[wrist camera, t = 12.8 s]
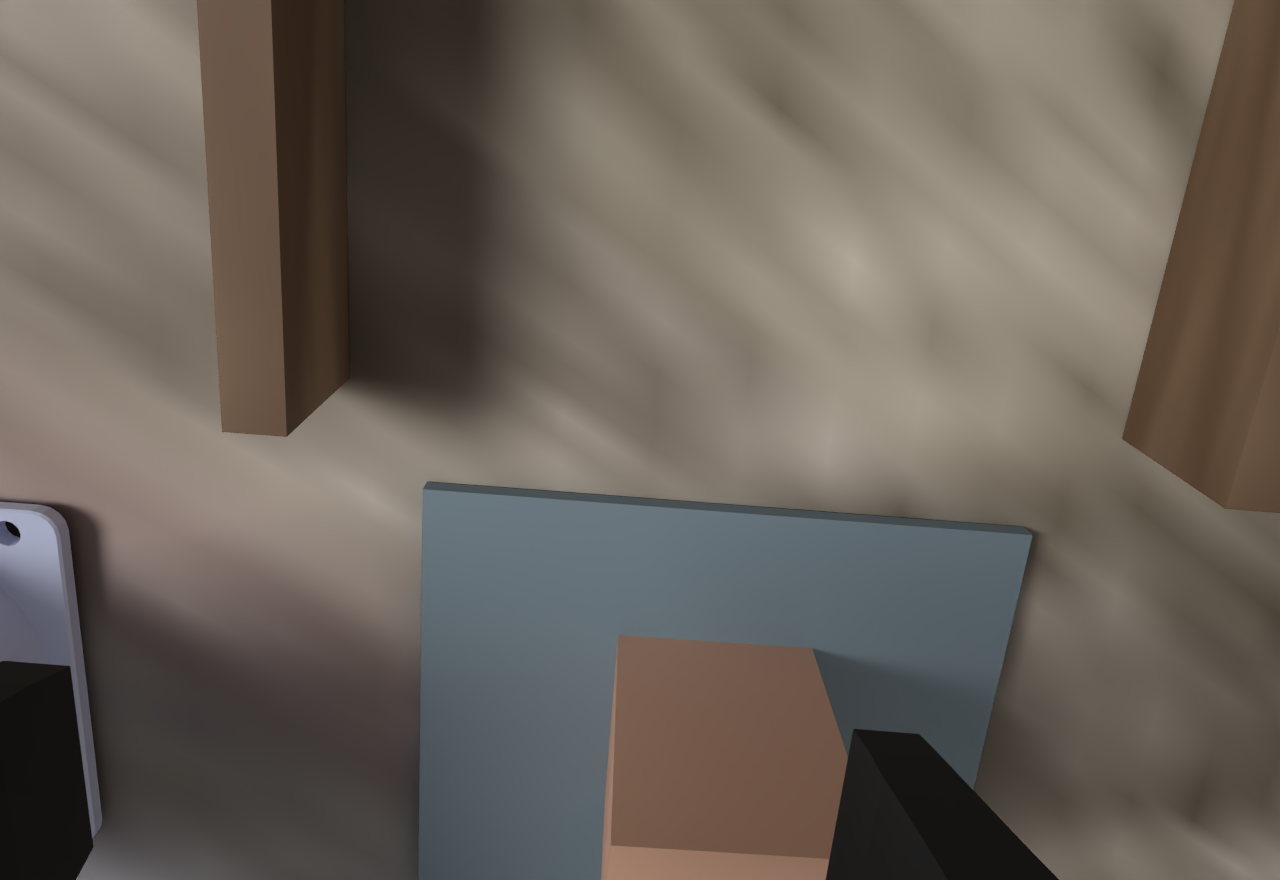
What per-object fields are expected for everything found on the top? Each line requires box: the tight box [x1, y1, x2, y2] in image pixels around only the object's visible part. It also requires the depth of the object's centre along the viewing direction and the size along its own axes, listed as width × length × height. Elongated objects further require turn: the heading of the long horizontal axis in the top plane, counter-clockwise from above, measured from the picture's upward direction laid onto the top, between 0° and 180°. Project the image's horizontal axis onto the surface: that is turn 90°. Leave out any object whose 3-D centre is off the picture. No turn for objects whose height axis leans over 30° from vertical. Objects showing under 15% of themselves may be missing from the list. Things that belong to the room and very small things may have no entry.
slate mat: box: [418, 482, 1033, 880], centre depth 21 cm, size 12×10×1 cm
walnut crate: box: [197, 0, 1280, 513], centre depth 15 cm, size 17×12×4 cm
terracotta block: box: [601, 635, 848, 880], centre depth 18 cm, size 4×4×6 cm
